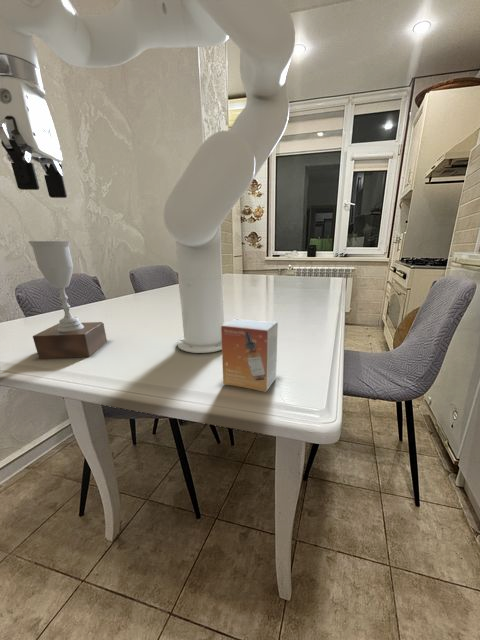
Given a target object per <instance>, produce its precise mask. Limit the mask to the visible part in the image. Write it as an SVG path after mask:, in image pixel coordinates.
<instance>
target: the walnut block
mask: <svg viewBox="0 0 480 640" xmlns="http://www.w3.org/2000/svg"><path fill="white" fill-rule="evenodd" d="M59 323H60V322H58V323H56V324H54V325H53V326H50V327H48V328H46V329H45V330H43V331H39V332H38V333H36V334H34V335H32V339H33V342H34V346H35V350H36V354H37V357H38V359H40V360H41V359H42V360H43V359H44V360H45V359H66V358H87V357H88V358H89V357H91V356H92V355H93V354H95V353H96V352H97V351H98V350H99V349H101V348H102V347H103V346H104V345H105V344H106V343H108V339H107V334H106V328H105V324H104V321H90V322H81V324H82V325H83V326H84V328H82V329H79V330H75V331H67V332H61V331H57V330H58V327H59V326H58V325H59Z"/></svg>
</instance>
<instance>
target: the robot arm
mask: <svg viewBox="0 0 480 640" xmlns="http://www.w3.org/2000/svg"><path fill="white" fill-rule="evenodd" d="M34 36H36V37H38V38H39V39H40V40H42V41H43V43H45V44H46V46H48V47H49V49H50V50H51V51H52V52H54V54H55V55H56V56H57V57H58V58H59V59H61V61H63V62H65V63H67V65H68V64H69V65H71V66H74V67H77V68H84V69H86V68H87V69H88V68H89V69H94V68H95V69H98V68H112V67H118V66H121V65H124V64H126V63H127V62H129V61H131V60H133V59H135V58H136V57H138V56H139V55H141V54H142V53H143V52H144V51H146V50H149V49H171V48H172V49H174V48H175V49H177V48H207V47H208V48H209V47H217V46H221V45H223V44H224V43H226V42H227V41H228V40H229V39H230V40H231V41H232V42H233V43H234V45H236V46H237V48H238V49H239V50H240V52H239V74H240V79H241V84H242V87H243V89H244V92H245V96H246V103H245V106H244V108H243V109H242V110H241V112H240V113H239V114H238V115H237V117H236V118H235V120H234V122H233V123H232V125H231V126H230V128H229V130H219V131H217V132H215V133H213V134H211V135H209V137H207V138H206V139H205V140H204V141H203V143H202V144H201V145H200V146H199V148H198V150H196V153H195V154H194V155H193V157H192V158H191V160H190V162H189V163H188V165H187V167H186V168H185V170H184V171H183V172H182V174H181V176H180V177H179V179H178V181H176V183H175V185H174V187H173V188H172V190H171V191H170V193H169V194H168V196H167V199H166V201H165V204H164V207H163V221H164V225H165V227H166V230H167V231H168V233H169V234H170V236H171V237H172V238H173V239H174V240H175V250H176V251H175V253H176V267H177V279H178V280H177V281H178V289H179V299H180V309H181V320H182V331H183V336H182V337H181V338H179V339H178V340H177V347H178V349H180V350H181V351H184V352H187V353H193V354H194V353H195V354H206V353H207V354H208V353H215V352H220V351H222V334H221V326H222V325H224V324H225V323H227V321H225V304H224V303H225V301H224V283H223V282H224V281H223V259H222V257H223V256H222V226H221V225H222V224H223V222H224V221H225V220H226V218H227V217H228V216H229V214H230V213H231V211H232V210H233V208H235V205H236V204H237V203H238V201H239V200H240V199H241V198H242V197H243V196H244V195H245V194H246V193H247V191H249V189H250V187H251V186H252V183H253V181H254V179H255V177H256V176H257V175H258V173H259V172H260V170H261V169H262V168H263V166H264V165H265V163H266V162H267V160H268V158H269V157H270V155H271V154H272V153H273V151H274V150H275V148H276V146H277V145H278V143H279V141H281V138H282V137H283V135H284V133H285V131H286V128H287V125H288V121H289V117H290V116H289V115H290V100H289V93H288V88H287V83H286V77H287V74H288V70H289V67H290V64H291V61H292V59H293V54H294V50H295V46H296V31H295V23H294V20H293V17H292V14H291V13H290V11H289V8H288V7H287V5H286V4H285V2H284V1H283V0H119V1H118V3H117V4H116V5H115V7H113V8H111V9H110V10H108V11H106V12H103V13H98V14H79V13H78V11H77V9H76V8H75V6H74V4H73V3H72V2H71V0H0V143H1V146H2V147H3V149H4V150H5V151H6V157H7V160H8V161H9V162H10V165H11V168H12V172H13V175H14V179H15V183H16V186H17V189H19V190H21V191H39V190H40V183H39V181H38V180H39V179H38V176H37V174H36V170H35V169H36V168H35V165H34V163H33V162H30V161H31V160H32V161H34V162H36V163H39V164H40V166H41V168H42V170H43V171H44V173H45V174H44V180H45V181H44V182H45V185H46V189H47V193H48V196H49V197H50V198H53V199H65V198H67V197H68V195H67V189H66V184H65V181H64V173H63V165H62V162H63V160H64V159H63V153H62V149H61V145H60V142H59V138H58V133H57V131H56V127H55V124H54V121H53V118H52V114H51V112H50V108H49V106H48V104H47V101H46V100H45V99H46V98H47V95H46V94H47V93H46V91H45V87H44V86H45V85H44V81H43V77H42V73H41V69H40V63H39V59H38V54H37V50H36V46H35V42H34ZM48 165H49V166H48Z"/></svg>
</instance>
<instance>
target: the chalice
mask: <svg viewBox="0 0 480 640" xmlns="http://www.w3.org/2000/svg"><path fill="white" fill-rule="evenodd" d="M27 242H28V244H29V245H30V246H31V247H32V250H33V253H34V257H35V261H36V265H37V268H38V270H39V271H40V273H41V274H42V276H43V277H44V279H45V280H46V281H47V282H48V283H49V285H51V287H52V288H54V289H58V291H59V298H58V299H59V300H60V301H61V303H62V304H61V306H60V308H61V309H62V310H63V312H64V315H63V317H61V318H60V319H59V322H58V323H59V325H58V326H59V327H58V330H57V331H61V332H67V331H75V330H79V329H82V328H84V326H83V325H82V324H81V323H82V322H81V321H80V319H79V318H78V317H76V316H74V315H73V314H71V312H70V309H71V305H70V304H69V303H68V299H69V297H68V295H67V294H66V288H68V287H69V286H70V283H71V281H72V280H71V279H72V276H73V271H74V263H73V259H72V254H71V250H70V245H71V242H72V241H70V240H68V241H67V240H66V241H65V240H63V241H62V240H60V241H59V240H55V241H54V240H45V241H44V240H40V241H39V240H34V241H33V240H31V241H27Z"/></svg>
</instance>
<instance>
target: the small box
mask: <svg viewBox="0 0 480 640" xmlns="http://www.w3.org/2000/svg"><path fill="white" fill-rule="evenodd" d="M278 325H279V323H278V322H277V321H267V320H265V321H264V320H254V319H253V320H251V319H243V318H239V317H237V318H236V317H235V318H232V319H231V320H229V321H226V323H225V324H224V325H222V326H221V334H222V350H221V360H222V364H221V365H222V384H223V385H226V386H233V387H238V388H239V387H240V388H245V389H249V390H256V391H259V392H265V393H267V392H268V390H269V389H270V387H271V386H272V384H273V383H274V381H275V380H276V379H277V363H278V362H277V361H278V360H277V359H278V358H277V357H278V331H279V330H278V328H279V326H278Z"/></svg>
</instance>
